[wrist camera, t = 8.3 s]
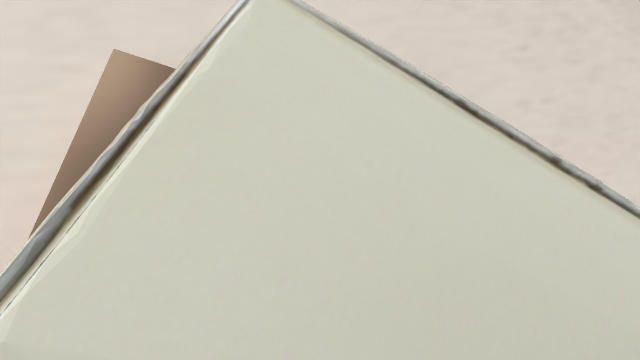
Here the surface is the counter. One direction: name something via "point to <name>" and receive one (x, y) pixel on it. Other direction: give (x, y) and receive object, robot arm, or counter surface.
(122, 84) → the shelf frame
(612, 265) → the skincare box
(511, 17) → the counter surface
